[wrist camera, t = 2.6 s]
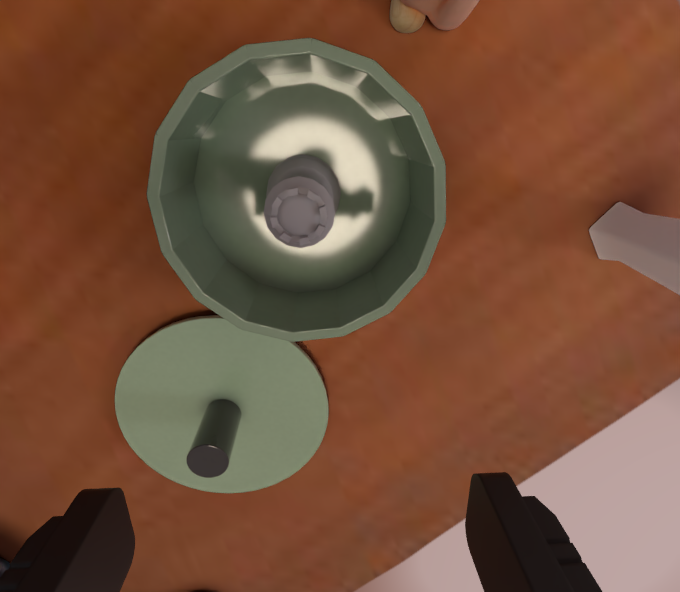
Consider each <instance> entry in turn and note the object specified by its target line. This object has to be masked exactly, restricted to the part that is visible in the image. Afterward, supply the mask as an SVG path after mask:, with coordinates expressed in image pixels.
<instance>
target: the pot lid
mask: <svg viewBox="0 0 680 592" xmlns="http://www.w3.org/2000/svg"><path fill="white" fill-rule="evenodd" d="M115 410H116V416H117V420H118V423H119V426H120V429H121V431H122V433H123V435H124V437H125V439H126V440H127V442H128V444H129V445H130V447H131V448H132V449H133V450H134V452H135V453H136V454H137V455H138V456H139V457H140V458H141V459H142V460H143V461H144V462H145V463H146V464H147V465H148V466H150V467H151V468H152V469H154V470H155V471H156V472H158V473H160V474H161V475H163V476H165V477H166V478H168V479H170V480H172V481H174V482H177V483H179V484H181V485H184V486H187V487H190V488H194V489H198V490H202V491H208V492H215V493H242V492H248V491H254V490H258V489H262V488H266V487H269V486H271V485H274V484H276V483H279V482H281V481H282V480H284V479H286V478H288V477H290V476H291V475H293V474H294V473H295V472H297V471H298V470H299V469H300V468H302V467H303V466H304V465H305V464H306V463H307V462H308V461H309V460H310V458H311V457H312V456H313V455H314V454H315V452H316V450H317V449H318V447H319V446H320V444H321V441H322V439H323V437H324V435H325V431H326V427H327V423H328V414H329V410H328V396H327V392H326V387H325V384H324V382H323V379H322V376H321V374H320V373H319V371H318V369H317V367H316V365H315V364H314V363H313V361H312V360H311V359H310V357H309V356H308V355H307V354H306V353H305V352H304V351H303V350H302V349H301V348H300V347H299V346H298V345H297V344H296V343H295V342H290V341H286V340H282V339H278V338H274V337H269V336H265V335H261V334H257V333H253V332H249V331H245V330H242V329H239V328H238V327H236V326H235V325H233V324H232V323H230V322H229V321H227V320H226V319H224V318H223V317H221V316H220V315H211V316H199V317H193V318H187V319H184V320H181V321H178V322H174V323H172V324H170V325H168V326H165V327H163V328H161V329H159V330H158V331H156V332H155V333H153V334H151V335H150V336H149V337H147V338H146V339H145V340H144V341H143V342H142V343H140V344H139V345H138V347H137V348H136V349H135V350H134V351H133V352H132V354H131V355H130V356H129V357H128V359H127V361H126V362H125V364H124V365H123V367H122V369H121V372H120V374H119V377H118V380H117V385H116V389H115Z"/></svg>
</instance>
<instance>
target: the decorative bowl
mask: <svg viewBox="0 0 680 592" xmlns="http://www.w3.org/2000/svg"><path fill="white" fill-rule="evenodd" d="M9 564H10V563H9V562H8V561H6V560H4V559H2V558H0V577H1V576H2V574H3V573H4V571H5V570H8V569H9V567H10V565H9Z"/></svg>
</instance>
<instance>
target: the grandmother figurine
mask: <svg viewBox="0 0 680 592" xmlns="http://www.w3.org/2000/svg"><path fill="white" fill-rule="evenodd" d="M478 2H479V0H391V6H390V21H391V24H392V26H393V27H394V28H395V29H396V30H397V31H399V32H401V33H412V32H415V31H417V30H418V29H419V28H420V27H421V26H422V25H423V23H424V21H425V17H426V15H427V16H428V17H429V19H430V21H431V22H432V23H433V25H434V26H435V27H437V28H438V29H441V30H452V29H455V28H457V27H458V26H459V25H460V24H461V23H462V22H463V21H464V20H465V19H466V18H467V17H468V16H469V14H470V13H471V11H472V10H473V9H474V7H475V6H476V5H477V3H478Z"/></svg>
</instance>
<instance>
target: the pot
mask: <svg viewBox="0 0 680 592" xmlns="http://www.w3.org/2000/svg"><path fill="white" fill-rule="evenodd" d="M302 154H303V155H308V156H313V157H318V158H319V159H321V160H322V161H323V162H325V163H326V164H328V165H329V166H330V167H331V168H332V170H333V172H334V173H335V175H336V176H337V178H338V181H339V186H340V191H341V195H340V200H339V205H338V210H337V211H336V213H335V217H334V222H333V227H332V228H331V230H330V231H329V233H328V234H327V236H326V237H325V238H324V239H323V240H321V241H320V242H318V243H317V244H315V245H313V246H308V247H303V248H298V247H293V246H287V245H286V244H284V243H282V242H281V241H279V240H278V239H276V238H275V237H274V236H273V234H272V233H271V231H270V230H269V229H268V227H267V224H266V221H265V217H264V207H265V200H266V198H267V197H266V193H267V186H268V180H269V177H270V176H271V174H272V172H273V171H274V169H275V167H276V166H277V165H278V164H280V163H281V162H283V161H284V160H285V159H287V158H288V157H293V156H297V155H302ZM147 199H148V203H149V207H150V211H151V215H152V218H153V222H154V226H155V230H156V233H157V237H158V241H159V245H160V249H161V252H162V254H163V256H164V257H165V258H166V260H167V261H168V263H169V264H170V265H171V267H172V268H173V269H174V271H175V272H176V274H177V275H178V276H179V278H180V279H181V280H182V282H183V283H184V284H185V286H186V287H187V289H188V290H189V291H190V293H191V294H192V295H193V297H194V298H195V299H196V300H197V301H198V302H200V303H202V304H203V305H205V306H206V307H208V308H209V309H211V310H212V311H214V312H215V313H217V314H218V315H220V316H221V317H223V318H224V319H226V320H227V321H229V322H230V323H232V324H233V325H235V326H236V327H238V328H239V329H242V330H245V331H249V332H253V333H257V334H261V335H265V336H269V337H274V338H278V339H282V340H286V341H290V342H296V341H305V340H314V339H323V338H332V337H341V336H345V335H347V334H349V333H351V332H353V331H355V330H357V329H359V328H361V327H363V326H365V325H367V324H369V323H371V322H373V321H375V320H377V319H379V318H381V317H383V316H385V315H387V314H389V312H391V311H392V310H393V309H394V308H395V307H396V306H397V305H398V304H399V302H400V301H401V300H402V299H403V298H404V297H405V296H406V295H407V294H408V293H409V292H410V291H411V289H412V288H413V287H414V286H415V285H416V284H417V283H418V282H419V281H420V280H421V279H422V277H423V276H424V275H425V273H426V272H427V269H428V267H429V264H430V262H431V259H432V257H433V254H434V252H435V249H436V246H437V244H438V241H439V239H440V236H441V234H442V231H443V228H444V226H445V223H446V164H445V160H444V158H443V155H442V153H441V151H440V148H439V146H438V144H437V141H436V139H435V136H434V134H433V132H432V129H431V127H430V124H429V122H428V120H427V117H426V115H425V113H424V110H423V108H422V106H421V105H420V103H419V102H418V101H416V100H415V99H414V98H413V97H412V96H411V95H410V94H409V93H408V92H407V91H406V90H405V89H404V88H403V87H402V86H401V85H400V84H399V83H398V82H397V81H396V80H395V79H394V78H393V77H392V76H391V75H390V74H389V73H387V72H386V71H385V70H384V69H383V68H382V67H381V66H380V65H379V64H378V63H377V62H376V61H374V60H373V59H370V58H368V57H365V56H362V55H359V54H356V53H354V52H351V51H348V50H345V49H342V48H340V47H337V46H334V45H331V44H328V43H325V42H323V41H320V40H317V39H314V38H312V39H311V38H302V39H292V40H283V41H273V42H264V43H254V44H246V45H243V46H242V47H240V48H238V49H237V50H235V51H234V52H232V53H230V54H229V55H227V56H226V57H224V58H222V59H221V60H219V61H218V62H216V63H215V64H213V65H211V66H210V67H208V68H207V69H205V70H203V71H202V72H200V73H199V74H197V75H195V76H194V77H192V78H191V79H190V80H189V81H188V82H187V84H186V85H185V87H184V88H183V90H182V92H181V93H180V95H179V96H178V98H177V99H176V101H175V103H174V104H173V106H172V107H171V109H170V111H169V112H168V114H167V115H166V117H165V119H164V120H163V122H162V123H161V125H160V126H159V128H158V130H157V131H156V134H155V136H154V144H153V151H152V158H151V165H150V173H149V180H148V187H147Z"/></svg>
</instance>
